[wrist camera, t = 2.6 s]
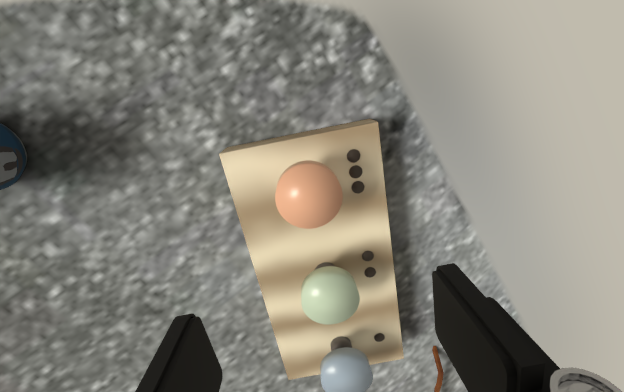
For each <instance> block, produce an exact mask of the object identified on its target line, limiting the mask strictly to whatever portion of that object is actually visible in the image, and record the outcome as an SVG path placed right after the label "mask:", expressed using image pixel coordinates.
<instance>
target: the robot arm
mask: <svg viewBox="0 0 624 392" xmlns="http://www.w3.org/2000/svg"><path fill="white" fill-rule="evenodd" d="M432 279H433V297H434V315H435V330H436V334H437V337H438V339H439V341H440V343H441V344H442V346H443V348H444V350H445V351H446V353H447V355H448V357H449V358H450V360H451V362H452V364H453V366H454V367H455V369H456V371H457V373H458V374H459V376H460V378H461V380H462V381H463V383H464V385H465V387H466V388H467V390H468V392H622V391H621V390H620V389H618V388H617V387H616V386H614V385H613V384H612V383H611V382H609V381H608V380H606V379H604V378H602V377H600V376H599V375H597V374H594V373H592V372H589V371H586V370H583V369H577V368H562V369H560V368H559V367H558V366H557V365H556V364H555V363H554V362H553V361H552V360H551V359H550V358H549V357H548V356H547V354H546V353H545V352H544V351H543V350H542V349H541V348H540V347H539V346H538V345H537V344H536V343H535V342H534V341H533V340H532V338H531V337H530V336H529V335H528V334H527V333H526V332H525V331H524V330H523V329H522V328H521V327H520V326H519V325H518V324H517V323H516V321H515V320H514V319H513V318H512V317H511V316H510V315H509V314H508V313H507V312H506V311H505V310H504V309H503V308H502V307H501V306H500V304H499V303H498V302H497V301H495V300H494V299H493V298H491V297H488V298H486V297H485V296H484V295H483V294H482V293H481V292H480V291H479V290H478V288H477V287H476V286H475V285H474V284H473V283H472V282H471V281H470V280H469V278H468V277H467V276H466V275H465V274H464V273H463V272H462V271H461V270H460V269H459V267H458V266H457V265H456V264H454V263H452V264H447V265H442V266H438V267H437V269H436V271H433V273H432ZM221 382H222V369H221V367H220V364H219V362H218V359H217V357H216V355H215V352H214V350H213V347H212V345H211V343H210V340H209V338H208V335H207V333H206V331H205V328H204V326H203V323H202V321H201V319H200V318H199V317H196V316H195V315H194V314H187V315H182V316H177V317H175V319H174V320H173V322H172V324H171V326H170V328H169V330H168V331H167V333H166V335H165V337H164V339H163V341H162V343H161V345H160V346H159V348H158V350H157V352H156V354H155V356H154V358H153V360H152V361H151V363H150V365H149V367H148V369H147V371H146V373H145V375H144V376H143V378H142V380H141V382H140V384H139V386H138V388H137V390H136V391H135V392H219V389H220V385H221Z"/></svg>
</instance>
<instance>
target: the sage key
mask: <svg viewBox="0 0 624 392" xmlns="http://www.w3.org/2000/svg"><path fill="white" fill-rule="evenodd" d="M359 302H360V296H359V292H358V289H357V286H356V282H355V280H354V278H353V276H352V275H351V274H350V273H349V272H348V271H346V270H344V269H342V268H339V267H335V266H326V267H321V268H318V269H316V270H314V271H312V272H311V273H310V274H309V275H308V276H307V277H306V278H305V279H304V281H303V283H302V287H301V304H302V308H303V311H304V313H305V314H306V315H307V316H308V317H309V318H310V319H311V320H313V321H315V322H317V323H320V324H328V325H329V324H337V323H340V322H343V321H345V320H347V319H348V318H350V317H351V316H352V315H353V314H354V313H355V312H356V310H357V308H358V306H359Z"/></svg>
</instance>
